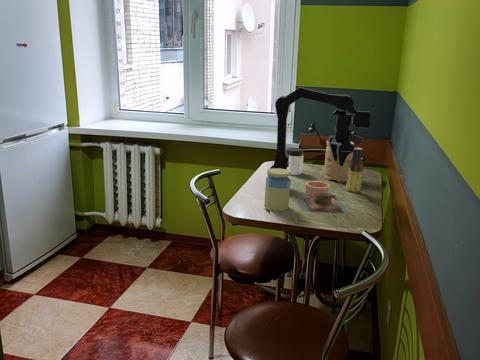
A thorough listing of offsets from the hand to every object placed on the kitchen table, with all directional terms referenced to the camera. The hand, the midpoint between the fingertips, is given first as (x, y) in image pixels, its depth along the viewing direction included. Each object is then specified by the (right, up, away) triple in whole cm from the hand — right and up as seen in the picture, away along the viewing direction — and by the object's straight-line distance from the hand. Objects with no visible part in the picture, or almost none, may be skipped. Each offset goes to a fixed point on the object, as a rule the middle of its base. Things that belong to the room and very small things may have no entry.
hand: (338, 163), depth 185 cm
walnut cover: (-9, -17, -14) cm, 24 cm away
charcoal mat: (-9, -18, -13) cm, 24 cm away
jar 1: (-27, -18, -17) cm, 37 cm away
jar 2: (-15, -4, +35) cm, 38 cm away
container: (+5, -6, +29) cm, 30 cm away
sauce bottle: (+8, -13, +8) cm, 17 cm away
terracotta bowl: (-9, -14, +1) cm, 16 cm away
